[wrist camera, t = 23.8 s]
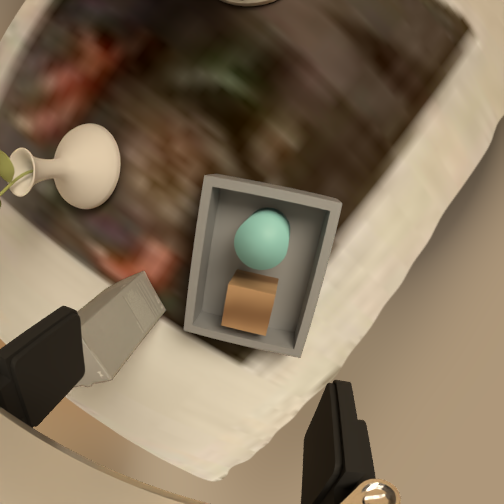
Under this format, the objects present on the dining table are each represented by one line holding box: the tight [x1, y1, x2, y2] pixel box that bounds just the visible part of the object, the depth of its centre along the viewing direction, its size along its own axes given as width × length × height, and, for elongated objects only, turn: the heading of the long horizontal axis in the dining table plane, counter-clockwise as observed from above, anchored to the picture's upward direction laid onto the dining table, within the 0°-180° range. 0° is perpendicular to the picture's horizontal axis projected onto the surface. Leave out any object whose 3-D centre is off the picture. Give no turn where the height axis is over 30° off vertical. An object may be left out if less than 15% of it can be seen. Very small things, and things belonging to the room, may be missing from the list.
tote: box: [184, 174, 342, 358], centre depth 36 cm, size 18×14×5 cm
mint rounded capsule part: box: [234, 208, 290, 270], centre depth 33 cm, size 5×5×7 cm
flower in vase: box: [0, 123, 121, 209], centre depth 27 cm, size 13×11×25 cm
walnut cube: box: [221, 269, 279, 336], centre depth 36 cm, size 5×5×5 cm
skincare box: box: [74, 271, 166, 387], centre depth 35 cm, size 8×7×16 cm
